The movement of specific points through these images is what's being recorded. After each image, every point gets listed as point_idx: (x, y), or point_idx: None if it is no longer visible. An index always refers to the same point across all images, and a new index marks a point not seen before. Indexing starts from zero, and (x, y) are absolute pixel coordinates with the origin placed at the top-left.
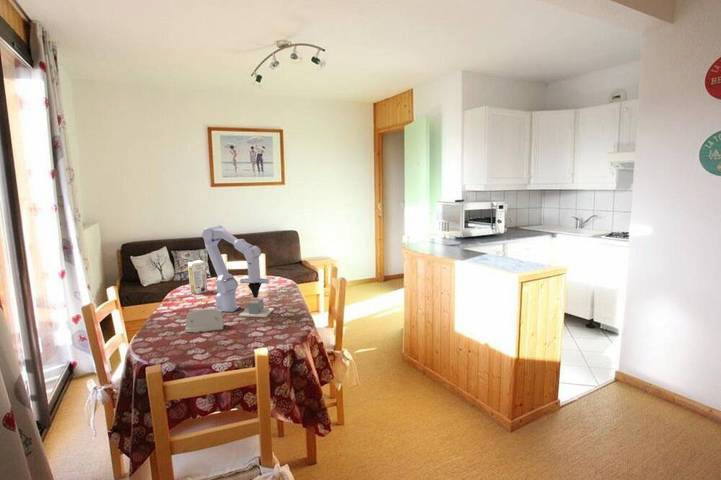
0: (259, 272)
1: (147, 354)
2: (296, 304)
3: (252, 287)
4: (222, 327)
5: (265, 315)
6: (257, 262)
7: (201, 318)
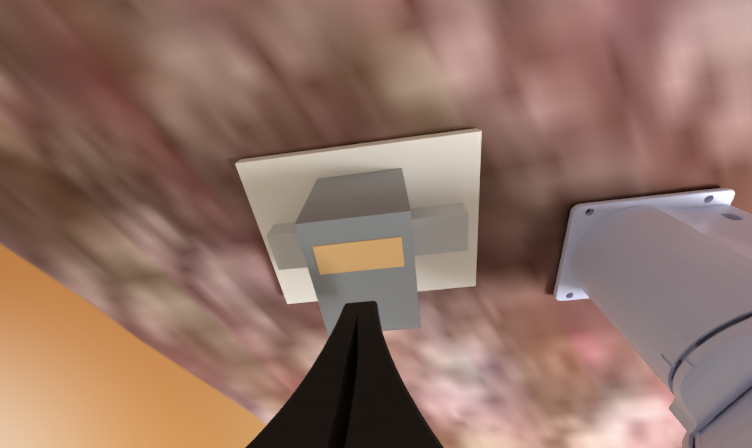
0: None
1: None
2: (223, 376)
3: (352, 437)
4: None
5: (236, 162)
6: None
7: None
